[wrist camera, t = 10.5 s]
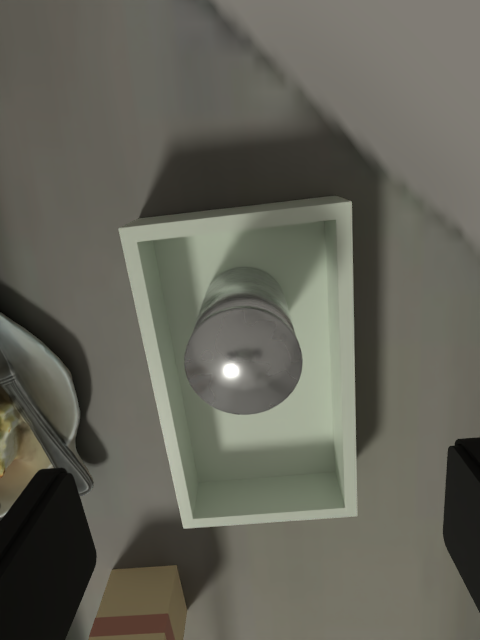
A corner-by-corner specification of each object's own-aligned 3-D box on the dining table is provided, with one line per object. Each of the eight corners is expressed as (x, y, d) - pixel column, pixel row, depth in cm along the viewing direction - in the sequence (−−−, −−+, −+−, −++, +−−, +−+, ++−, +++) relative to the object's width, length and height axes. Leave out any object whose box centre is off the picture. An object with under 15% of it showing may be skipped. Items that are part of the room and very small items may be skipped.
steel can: (283, 261, 22) (299, 302, 15) (289, 341, 24) (305, 410, 17) (196, 270, 22) (175, 314, 16) (208, 348, 24) (193, 419, 17)
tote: (335, 195, 21) (351, 201, 18) (343, 473, 28) (357, 516, 24) (138, 218, 22) (118, 228, 18) (191, 484, 28) (183, 528, 25)
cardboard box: (176, 564, 31) (161, 653, 25) (187, 609, 33) (174, 702, 27) (111, 568, 31) (82, 657, 26) (125, 613, 33) (100, 705, 27)
